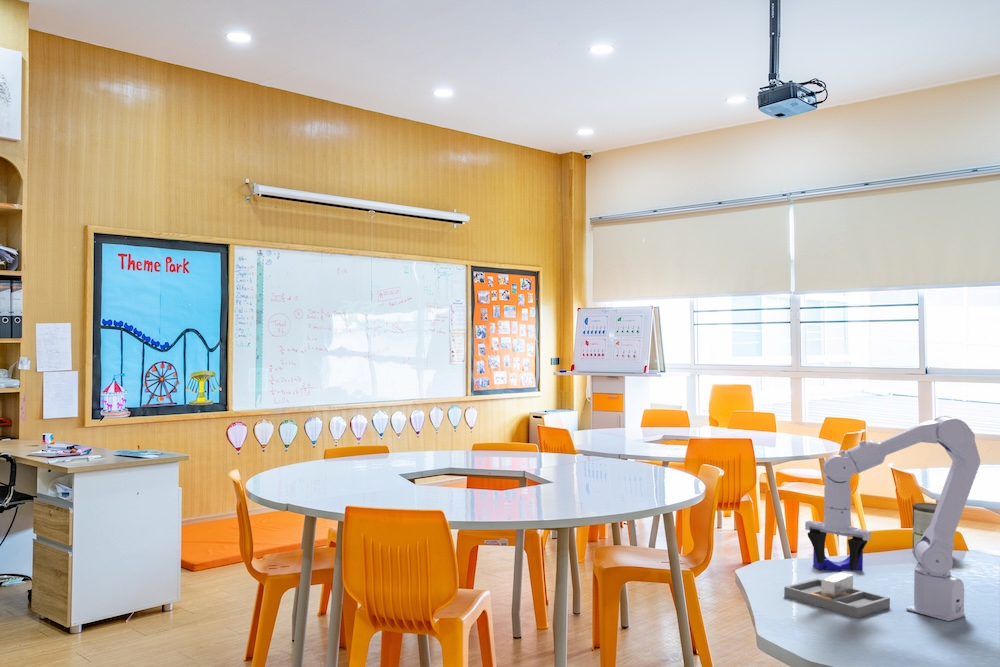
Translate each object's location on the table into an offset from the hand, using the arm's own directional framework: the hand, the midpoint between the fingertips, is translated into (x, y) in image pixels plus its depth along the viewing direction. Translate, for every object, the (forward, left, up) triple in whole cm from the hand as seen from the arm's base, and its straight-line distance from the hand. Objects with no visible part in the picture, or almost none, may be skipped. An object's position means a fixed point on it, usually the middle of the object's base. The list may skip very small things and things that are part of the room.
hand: (836, 565), depth 184 cm
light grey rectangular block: (0, 0, -7) cm, 7 cm away
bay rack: (0, 0, -8) cm, 8 cm away
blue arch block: (+16, -28, -9) cm, 34 cm away
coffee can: (+11, -69, -9) cm, 70 cm away
